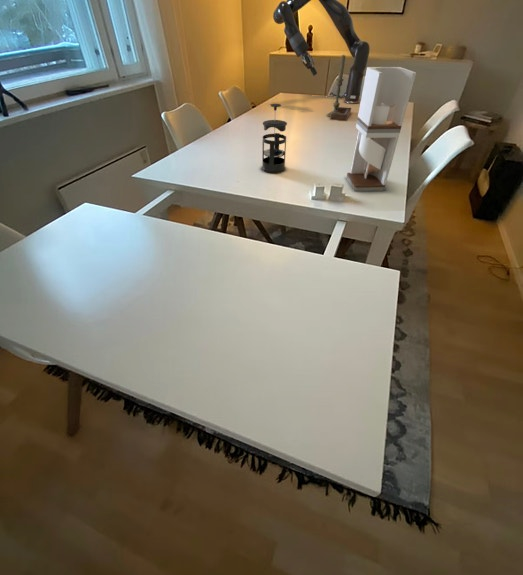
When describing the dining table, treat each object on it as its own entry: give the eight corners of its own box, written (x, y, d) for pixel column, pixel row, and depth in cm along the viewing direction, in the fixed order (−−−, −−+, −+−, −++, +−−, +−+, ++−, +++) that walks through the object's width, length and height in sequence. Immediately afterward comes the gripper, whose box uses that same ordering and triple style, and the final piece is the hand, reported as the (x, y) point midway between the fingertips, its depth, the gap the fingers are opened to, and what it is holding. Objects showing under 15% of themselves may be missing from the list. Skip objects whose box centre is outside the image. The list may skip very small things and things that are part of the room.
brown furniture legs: (330, 119, 184) (331, 113, 182) (335, 112, 197) (336, 106, 195) (346, 120, 182) (347, 115, 180) (350, 113, 195) (351, 107, 193)
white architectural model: (346, 178, 121) (367, 67, 98) (373, 177, 121) (400, 67, 98) (354, 191, 112) (379, 72, 89) (384, 190, 113) (416, 72, 90)
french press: (282, 174, 123) (286, 108, 108) (259, 172, 124) (259, 106, 109) (287, 164, 132) (291, 100, 116) (265, 162, 133) (266, 99, 118)
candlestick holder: (345, 115, 190) (355, 54, 170) (336, 118, 185) (346, 55, 165) (333, 113, 195) (341, 52, 175) (324, 115, 190) (331, 53, 170)
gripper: (296, 47, 181) (312, 76, 188) (290, 51, 172) (307, 81, 179) (307, 37, 176) (323, 67, 183) (301, 40, 167) (318, 72, 174)
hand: (315, 74), depth 181 cm, fingers closed
